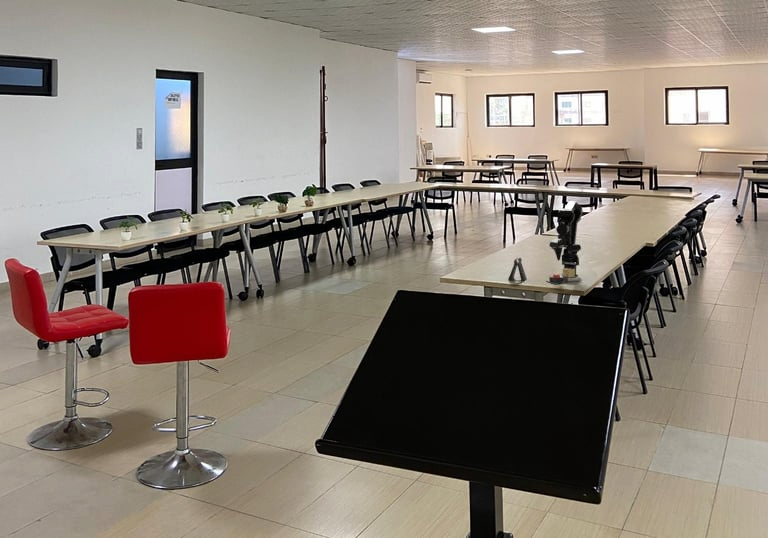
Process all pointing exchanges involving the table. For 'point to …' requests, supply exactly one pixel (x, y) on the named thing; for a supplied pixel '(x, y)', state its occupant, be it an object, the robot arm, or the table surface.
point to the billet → (568, 272)
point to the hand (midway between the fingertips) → (564, 261)
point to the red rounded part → (556, 275)
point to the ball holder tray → (562, 280)
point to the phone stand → (521, 271)
